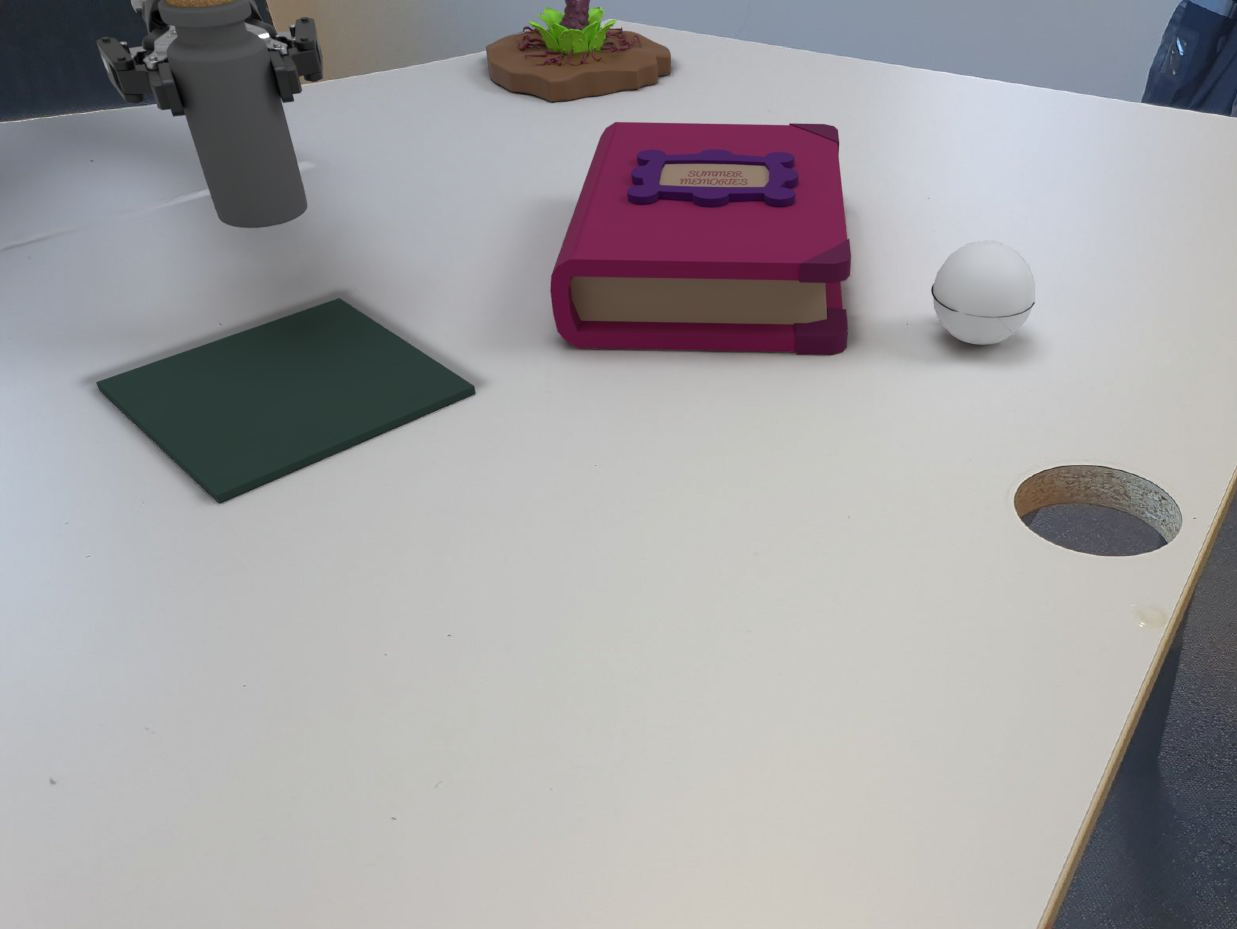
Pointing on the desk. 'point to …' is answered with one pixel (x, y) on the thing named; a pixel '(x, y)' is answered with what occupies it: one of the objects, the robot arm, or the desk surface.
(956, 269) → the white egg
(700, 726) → the desk surface
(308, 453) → the mat
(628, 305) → the book
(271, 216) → the bottle
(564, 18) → the plant
